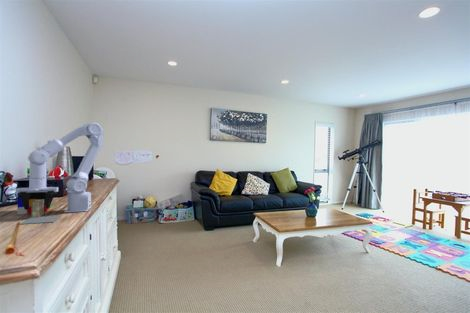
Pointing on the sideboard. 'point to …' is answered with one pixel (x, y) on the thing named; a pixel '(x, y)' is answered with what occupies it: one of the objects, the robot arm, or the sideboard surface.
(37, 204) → the tile
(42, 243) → the sideboard surface
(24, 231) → the sideboard surface
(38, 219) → the mat
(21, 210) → the puzzle toy
